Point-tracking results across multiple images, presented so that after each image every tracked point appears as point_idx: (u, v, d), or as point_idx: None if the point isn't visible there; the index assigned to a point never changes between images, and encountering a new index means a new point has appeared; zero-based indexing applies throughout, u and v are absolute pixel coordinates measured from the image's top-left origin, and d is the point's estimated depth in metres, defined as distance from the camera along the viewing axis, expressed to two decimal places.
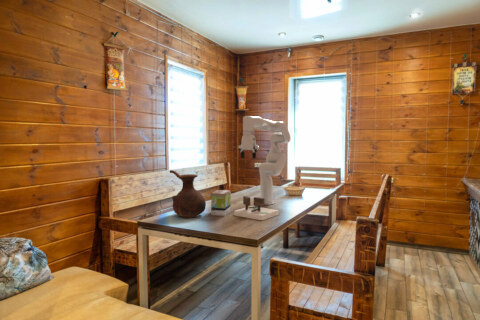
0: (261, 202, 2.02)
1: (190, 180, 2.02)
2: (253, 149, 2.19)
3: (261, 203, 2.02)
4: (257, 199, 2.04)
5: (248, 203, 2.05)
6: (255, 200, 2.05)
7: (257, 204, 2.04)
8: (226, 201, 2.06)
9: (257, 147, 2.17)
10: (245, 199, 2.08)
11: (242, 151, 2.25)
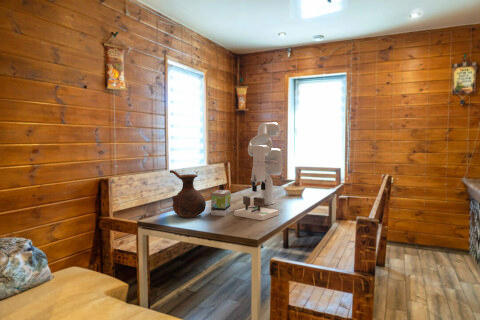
0: (261, 202, 2.02)
1: (190, 180, 2.02)
2: None
3: (261, 203, 2.02)
4: (257, 199, 2.04)
5: (248, 203, 2.05)
6: (255, 200, 2.05)
7: (257, 204, 2.04)
8: (226, 201, 2.06)
9: (266, 178, 2.10)
10: (245, 199, 2.08)
11: None
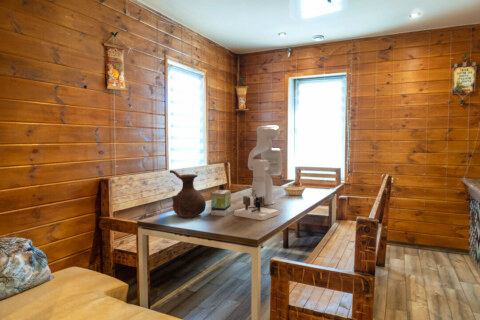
0: (261, 202, 2.02)
1: (190, 180, 2.02)
2: (262, 197, 2.06)
3: (261, 203, 2.02)
4: None
5: (248, 203, 2.05)
6: None
7: None
8: (226, 201, 2.06)
9: (264, 196, 2.08)
10: (245, 199, 2.08)
11: None
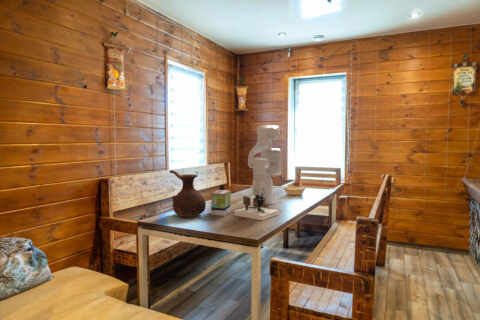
0: (263, 201, 2.05)
1: (190, 180, 2.02)
2: (258, 195, 2.08)
3: (263, 202, 2.05)
4: None
5: (248, 203, 2.05)
6: (256, 201, 2.03)
7: None
8: (226, 201, 2.06)
9: None
10: (245, 199, 2.08)
11: None
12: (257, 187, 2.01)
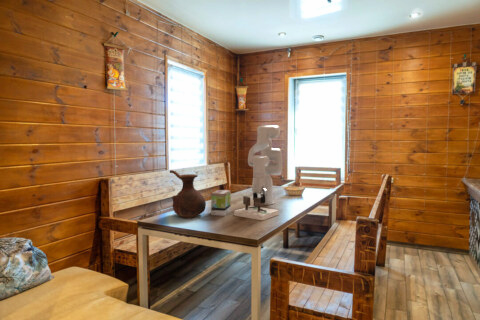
0: None
1: (190, 180, 2.02)
2: None
3: None
4: (259, 199, 2.04)
5: (248, 203, 2.05)
6: (257, 201, 2.03)
7: (259, 204, 2.04)
8: (226, 201, 2.06)
9: None
10: (245, 199, 2.08)
11: None
12: (257, 185, 2.01)
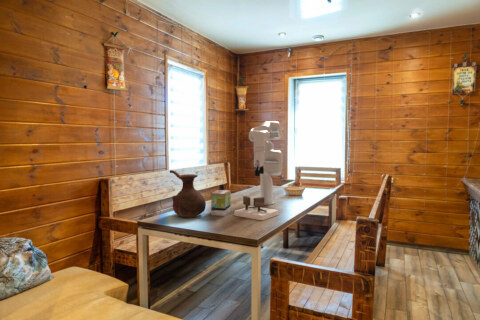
0: (263, 201, 2.05)
1: (190, 180, 2.02)
2: None
3: (263, 202, 2.05)
4: (259, 199, 2.04)
5: (248, 203, 2.05)
6: (257, 201, 2.03)
7: (259, 204, 2.04)
8: (226, 201, 2.06)
9: None
10: (245, 199, 2.08)
11: None
12: None
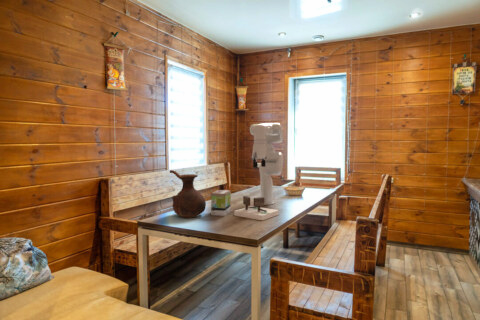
0: (263, 201, 2.05)
1: (190, 180, 2.02)
2: (264, 157, 2.21)
3: (263, 202, 2.05)
4: (259, 199, 2.04)
5: (248, 203, 2.05)
6: (257, 201, 2.03)
7: (259, 204, 2.04)
8: (226, 201, 2.06)
9: (266, 155, 2.23)
10: (245, 199, 2.08)
11: None
12: None
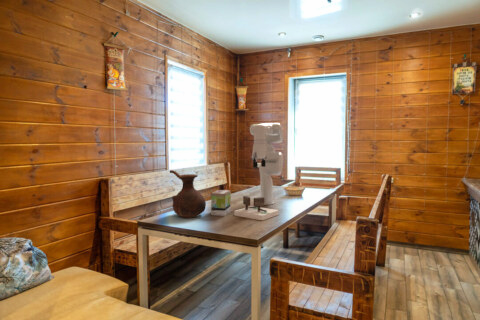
0: (263, 201, 2.05)
1: (190, 180, 2.02)
2: (264, 157, 2.21)
3: (263, 202, 2.05)
4: (259, 199, 2.04)
5: (248, 203, 2.05)
6: (257, 201, 2.03)
7: (259, 204, 2.04)
8: (226, 201, 2.06)
9: (266, 155, 2.23)
10: (245, 199, 2.08)
11: None
12: None
